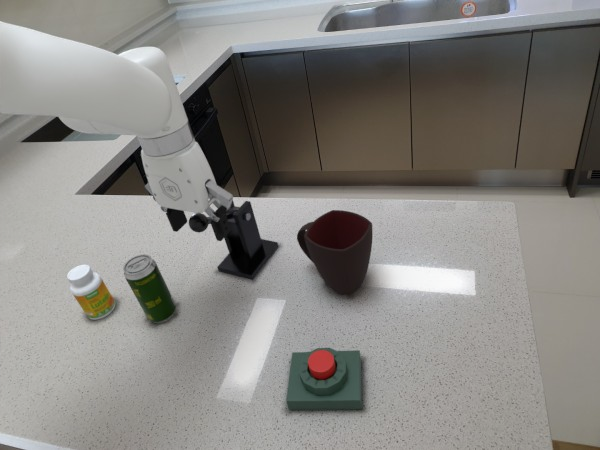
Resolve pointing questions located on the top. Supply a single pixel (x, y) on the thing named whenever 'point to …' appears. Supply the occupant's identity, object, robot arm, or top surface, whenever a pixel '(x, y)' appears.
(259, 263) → the switch bracket
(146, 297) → the beer can
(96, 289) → the supplement bottle
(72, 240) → the top surface
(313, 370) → the stop button
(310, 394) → the control box
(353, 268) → the cup
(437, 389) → the top surface
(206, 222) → the switch lever
